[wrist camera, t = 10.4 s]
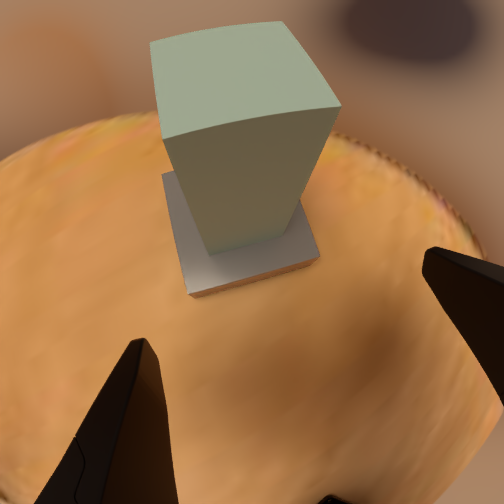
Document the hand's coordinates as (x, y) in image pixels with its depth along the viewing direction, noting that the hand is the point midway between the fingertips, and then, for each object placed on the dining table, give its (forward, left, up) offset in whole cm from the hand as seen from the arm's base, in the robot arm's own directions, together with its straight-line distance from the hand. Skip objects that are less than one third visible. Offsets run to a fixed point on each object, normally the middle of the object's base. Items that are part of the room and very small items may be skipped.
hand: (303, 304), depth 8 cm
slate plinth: (+6, -4, -13) cm, 15 cm away
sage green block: (+6, -4, -10) cm, 13 cm away
